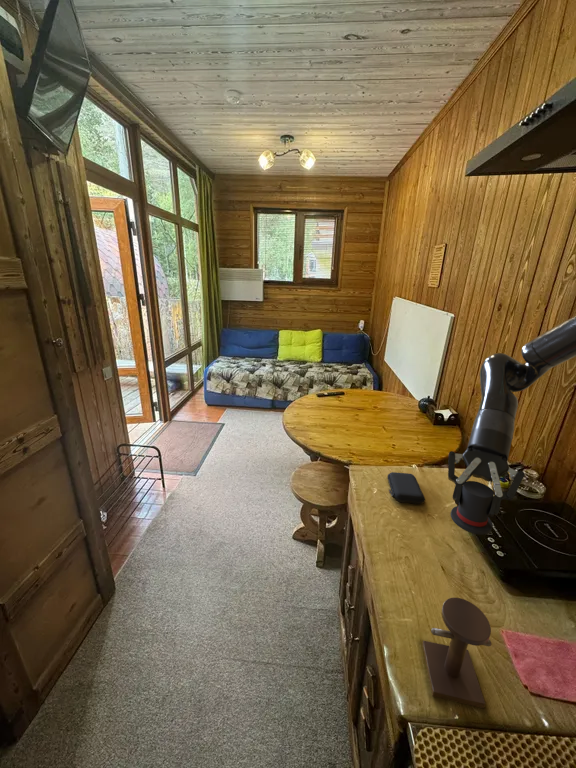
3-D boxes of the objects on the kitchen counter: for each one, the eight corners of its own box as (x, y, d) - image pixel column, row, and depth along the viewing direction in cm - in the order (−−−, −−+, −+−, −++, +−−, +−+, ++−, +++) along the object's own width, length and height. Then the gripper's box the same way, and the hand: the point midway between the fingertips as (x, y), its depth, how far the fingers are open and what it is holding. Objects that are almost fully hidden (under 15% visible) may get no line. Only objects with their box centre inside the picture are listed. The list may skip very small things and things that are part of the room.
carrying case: (383, 476, 111) (390, 503, 97) (384, 469, 110) (391, 495, 96) (413, 479, 110) (425, 507, 96) (414, 471, 109) (427, 499, 95)
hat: (491, 516, 66) (499, 485, 64) (492, 540, 60) (501, 506, 57) (452, 504, 70) (458, 473, 67) (448, 525, 64) (455, 492, 61)
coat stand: (470, 654, 58) (487, 600, 53) (488, 709, 50) (509, 651, 46) (418, 643, 59) (429, 589, 55) (427, 695, 52) (442, 637, 47)
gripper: (455, 419, 69) (434, 491, 63) (535, 437, 61) (520, 522, 55) (455, 432, 74) (436, 499, 69) (528, 450, 66) (514, 528, 61)
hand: (473, 509), depth 62 cm, fingers closed on hat, 5 cm apart
